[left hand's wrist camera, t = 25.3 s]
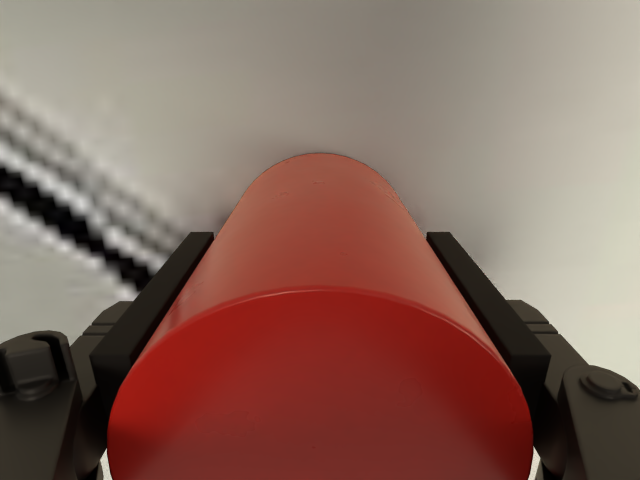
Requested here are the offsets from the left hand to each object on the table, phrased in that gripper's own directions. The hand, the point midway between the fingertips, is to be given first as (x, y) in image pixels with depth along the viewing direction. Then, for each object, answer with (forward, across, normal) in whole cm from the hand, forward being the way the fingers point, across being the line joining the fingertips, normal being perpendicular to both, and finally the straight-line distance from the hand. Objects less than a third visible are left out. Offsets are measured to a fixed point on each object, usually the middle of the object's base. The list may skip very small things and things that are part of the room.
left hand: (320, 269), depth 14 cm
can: (+3, 0, 0) cm, 3 cm away
